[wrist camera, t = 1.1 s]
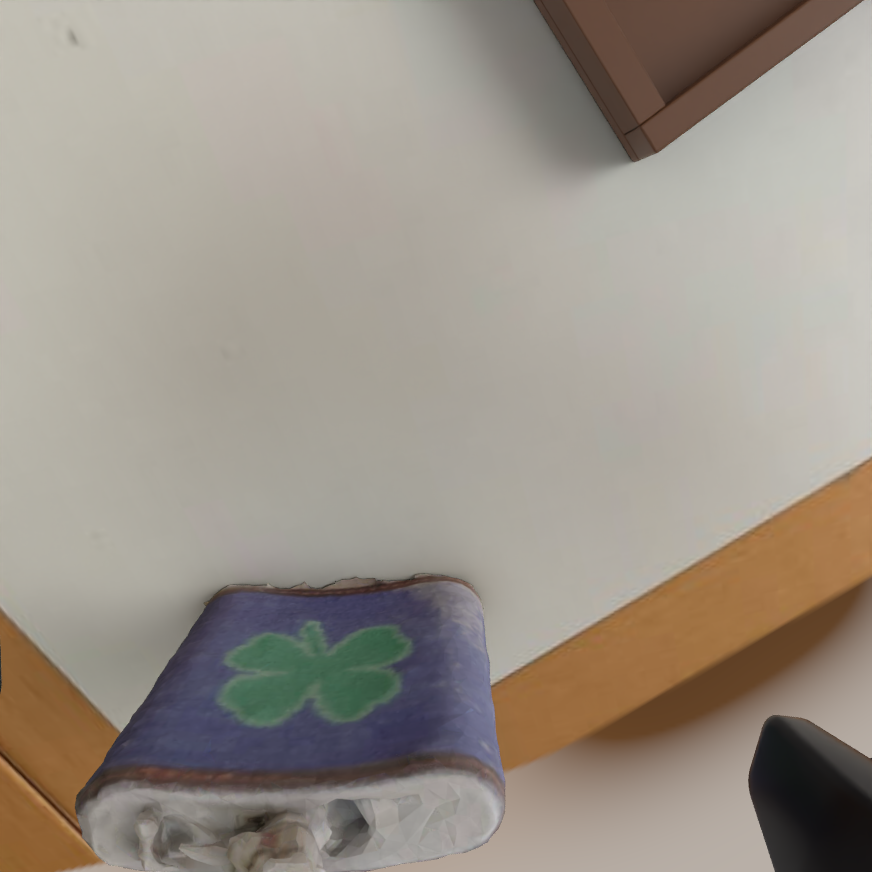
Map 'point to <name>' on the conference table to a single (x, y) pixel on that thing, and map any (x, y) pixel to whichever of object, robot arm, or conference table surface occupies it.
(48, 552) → the conference table surface
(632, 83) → the serving tray
